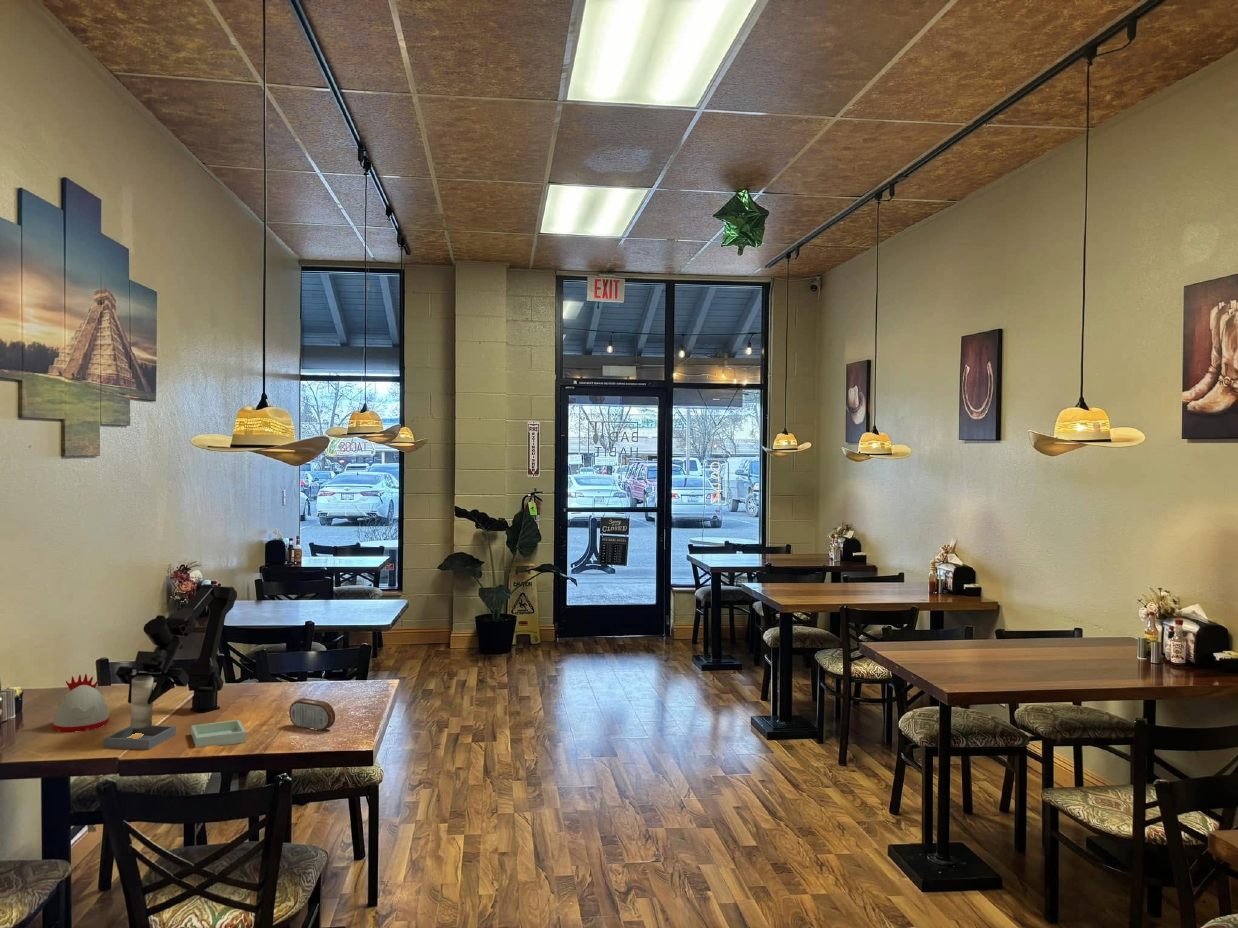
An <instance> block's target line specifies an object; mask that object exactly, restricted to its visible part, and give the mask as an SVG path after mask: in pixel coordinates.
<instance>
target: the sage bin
mask: <svg viewBox="0 0 1238 928" xmlns="http://www.w3.org/2000/svg"><path fill="white" fill-rule="evenodd" d="M190 734H191V738H192V741H193V744H194V746H195V748H201V747H210V746H217V747H221V746H228V745H229V746H230V745H237V744H244V743H247V742H246V741H247V731H246V730H245V727H244V725H243V723H242V722H241V719H233V720H227V721H226V720H225V721H217V722H211V723H200V724H195V725H194V724H193V725H191V729H190Z"/></svg>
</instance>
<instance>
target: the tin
mask: <svg viewBox="0 0 1238 928" xmlns="http://www.w3.org/2000/svg"><path fill="white" fill-rule="evenodd" d="M288 710H289V719H290V722H291V723H292V724H293V725H294V726H295V727H297V726H298V727H297V728H299V727H303V728H302V729H305V728H314V729H317V730H323V731H325V730H328V729H329V728H331V727H332V726H333V725H334V724H335V722H336V721H335V720H336V714H335V713H336V712H335V710H334V708H333V706H332V705H331V704H330V703H328V701H324V700H318V699H311V698H304V697H303V698H298V699H297V700H295V701H294V702H293V703H292V704H291V705H290V707H289V709H288ZM327 728H328V729H327ZM317 730H316V731H317Z"/></svg>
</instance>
